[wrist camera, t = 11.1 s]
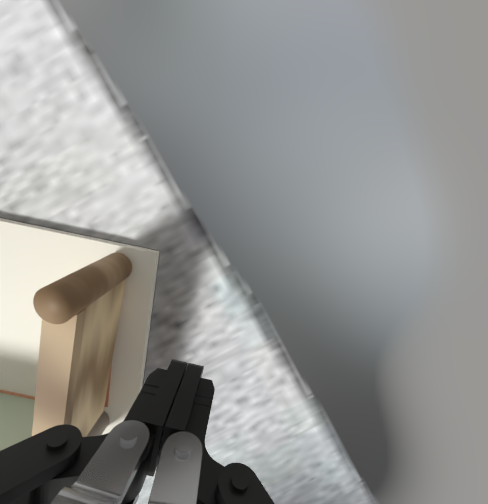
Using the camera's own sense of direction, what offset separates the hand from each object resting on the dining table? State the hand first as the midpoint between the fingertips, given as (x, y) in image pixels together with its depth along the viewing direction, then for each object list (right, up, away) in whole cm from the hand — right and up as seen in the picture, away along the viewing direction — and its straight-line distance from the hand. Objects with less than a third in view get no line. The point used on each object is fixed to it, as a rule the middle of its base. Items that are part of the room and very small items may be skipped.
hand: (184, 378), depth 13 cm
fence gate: (-7, 0, +6) cm, 9 cm away
